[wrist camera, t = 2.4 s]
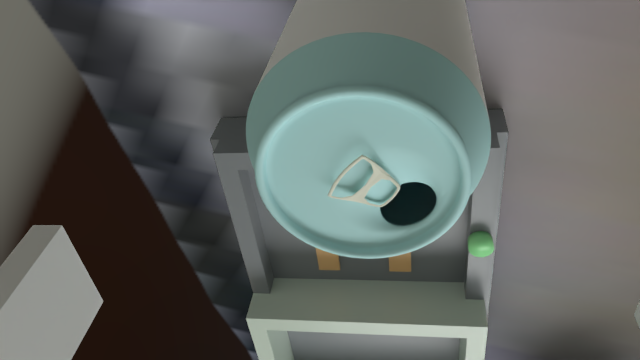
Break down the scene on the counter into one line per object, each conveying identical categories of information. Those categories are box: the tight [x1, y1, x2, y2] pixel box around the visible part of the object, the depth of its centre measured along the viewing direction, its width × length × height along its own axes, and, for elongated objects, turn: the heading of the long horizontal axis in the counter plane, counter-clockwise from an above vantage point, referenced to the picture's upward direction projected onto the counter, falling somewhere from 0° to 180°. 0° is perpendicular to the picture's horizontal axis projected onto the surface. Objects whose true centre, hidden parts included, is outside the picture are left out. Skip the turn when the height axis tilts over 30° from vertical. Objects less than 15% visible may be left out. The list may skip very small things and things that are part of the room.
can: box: [246, 0, 491, 259], centre depth 19 cm, size 7×7×12 cm
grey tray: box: [210, 109, 508, 360], centre depth 32 cm, size 22×14×5 cm, turn 7°
